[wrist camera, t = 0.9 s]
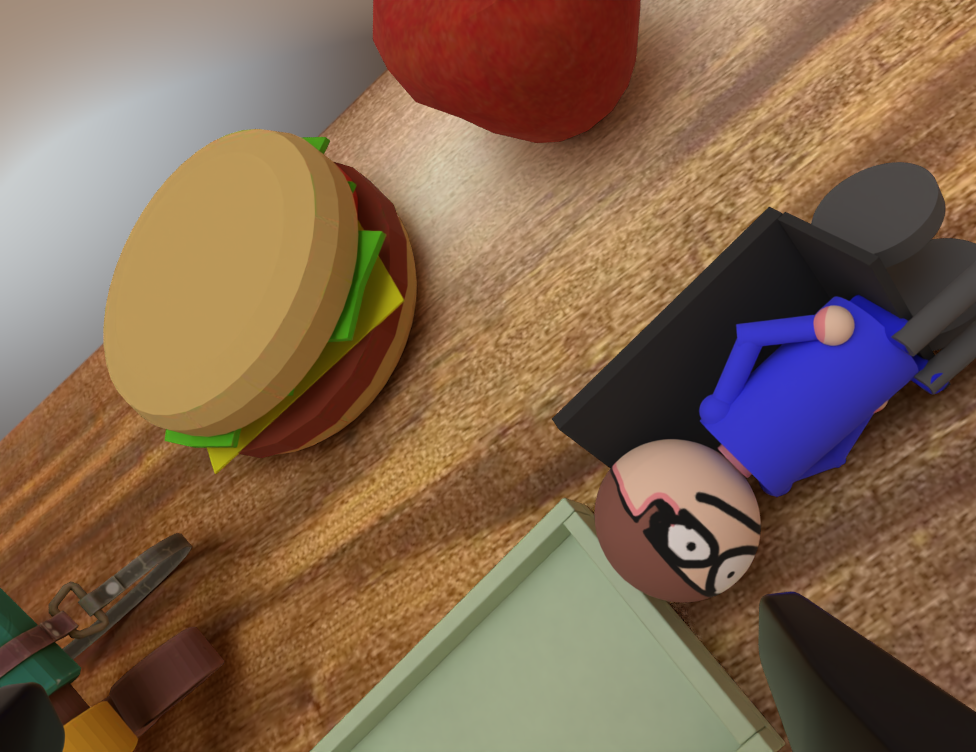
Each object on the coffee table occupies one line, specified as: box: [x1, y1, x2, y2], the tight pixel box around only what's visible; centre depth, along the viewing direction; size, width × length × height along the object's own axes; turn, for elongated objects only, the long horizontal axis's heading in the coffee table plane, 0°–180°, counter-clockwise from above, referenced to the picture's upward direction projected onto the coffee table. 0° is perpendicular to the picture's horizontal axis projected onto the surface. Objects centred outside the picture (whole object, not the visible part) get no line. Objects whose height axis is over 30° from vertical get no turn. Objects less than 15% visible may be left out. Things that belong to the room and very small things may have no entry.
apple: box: [373, 0, 641, 143], centre depth 29 cm, size 11×11×12 cm
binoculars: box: [0, 533, 225, 752], centre depth 33 cm, size 14×14×15 cm
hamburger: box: [104, 129, 417, 474], centre depth 36 cm, size 16×16×8 cm
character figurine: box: [552, 162, 976, 602], centre depth 22 cm, size 8×7×15 cm
